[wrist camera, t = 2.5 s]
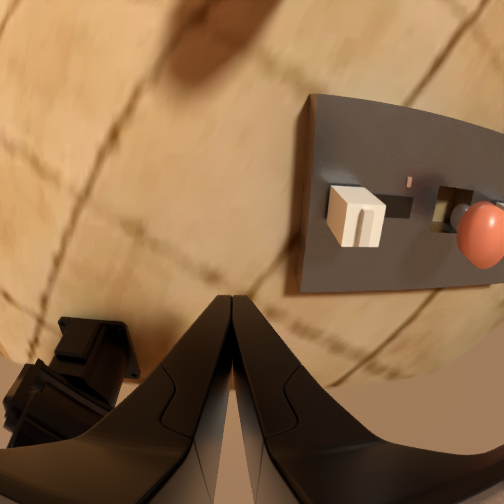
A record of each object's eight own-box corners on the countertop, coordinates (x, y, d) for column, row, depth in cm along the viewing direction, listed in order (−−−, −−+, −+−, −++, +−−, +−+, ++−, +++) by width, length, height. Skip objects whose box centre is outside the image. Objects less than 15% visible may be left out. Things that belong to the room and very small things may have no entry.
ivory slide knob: (359, 223, 18) (381, 250, 15) (326, 223, 18) (343, 250, 15) (364, 187, 17) (389, 208, 14) (330, 185, 17) (350, 206, 14)
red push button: (472, 242, 18) (502, 268, 15) (433, 241, 18) (463, 269, 15) (485, 192, 16) (519, 212, 13) (446, 187, 16) (480, 207, 13)
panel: (499, 271, 23) (512, 283, 21) (295, 276, 22) (300, 293, 20) (531, 145, 17) (547, 151, 15) (309, 94, 16) (318, 93, 15)
